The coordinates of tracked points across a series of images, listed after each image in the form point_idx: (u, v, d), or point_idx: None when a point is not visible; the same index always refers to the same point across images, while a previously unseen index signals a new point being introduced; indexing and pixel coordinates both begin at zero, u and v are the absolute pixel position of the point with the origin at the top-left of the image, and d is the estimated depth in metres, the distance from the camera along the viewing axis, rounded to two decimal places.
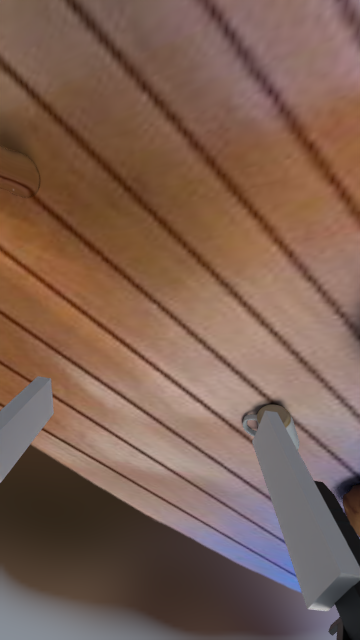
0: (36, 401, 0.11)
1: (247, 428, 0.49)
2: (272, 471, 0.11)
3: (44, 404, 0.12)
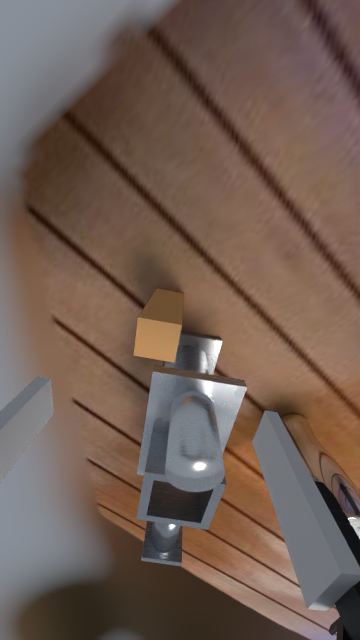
0: (36, 401, 0.11)
1: None
2: (272, 471, 0.11)
3: (44, 404, 0.12)
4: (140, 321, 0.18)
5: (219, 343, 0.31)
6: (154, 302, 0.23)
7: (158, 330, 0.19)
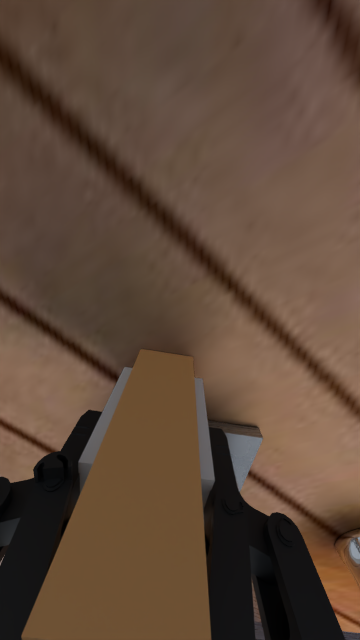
0: None
1: None
2: None
3: None
4: None
5: (257, 441, 0.17)
6: (125, 426, 0.09)
7: None
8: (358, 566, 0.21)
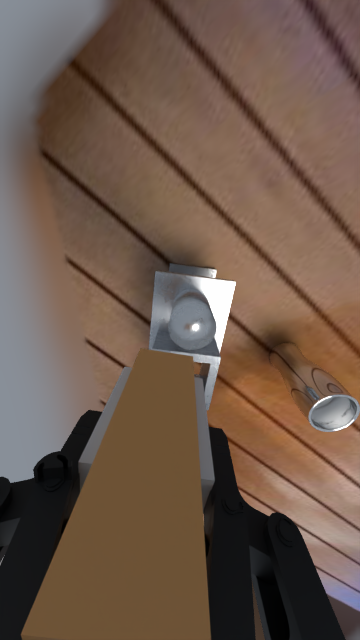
0: None
1: None
2: None
3: None
4: None
5: (214, 272, 0.35)
6: (125, 425, 0.09)
7: None
8: (277, 357, 0.39)
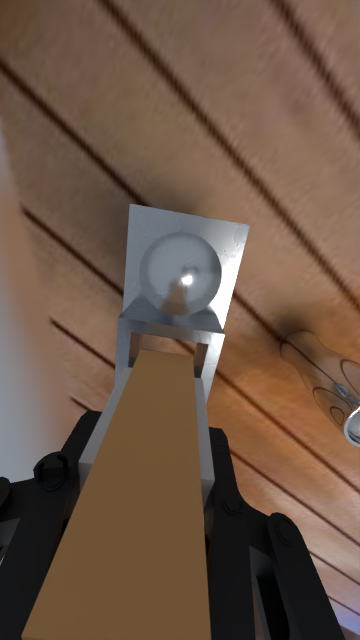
0: None
1: None
2: None
3: None
4: None
5: None
6: (125, 426, 0.09)
7: None
8: (291, 348, 0.31)
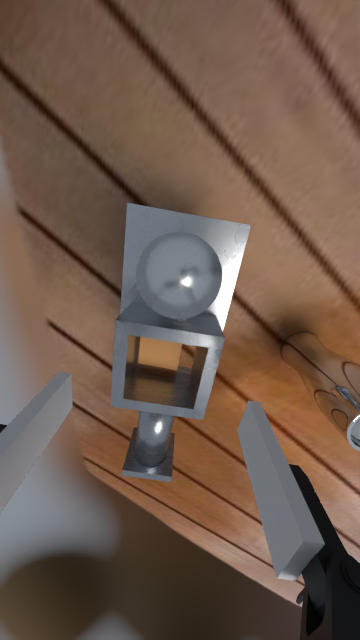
0: (59, 395, 0.12)
1: None
2: (252, 457, 0.11)
3: (65, 398, 0.12)
4: None
5: None
6: None
7: None
8: (292, 350, 0.30)
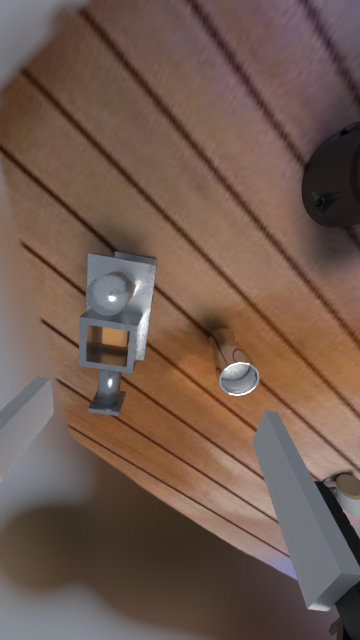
0: (36, 401, 0.11)
1: None
2: (272, 471, 0.11)
3: (44, 404, 0.12)
4: None
5: (154, 261, 0.40)
6: None
7: None
8: (212, 339, 0.45)
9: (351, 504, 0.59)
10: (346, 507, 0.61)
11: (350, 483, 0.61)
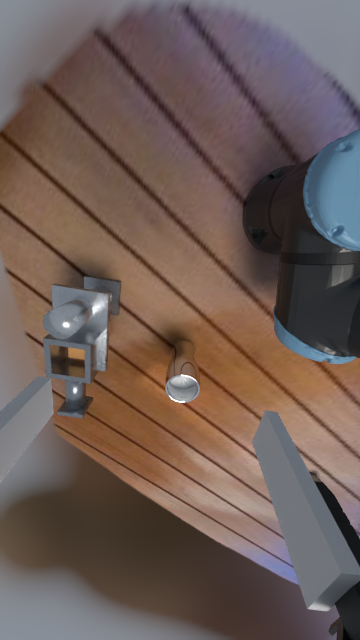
0: (36, 401, 0.11)
1: None
2: (272, 471, 0.11)
3: (44, 404, 0.12)
4: None
5: (118, 284, 0.46)
6: None
7: None
8: (173, 350, 0.50)
9: None
10: None
11: None
